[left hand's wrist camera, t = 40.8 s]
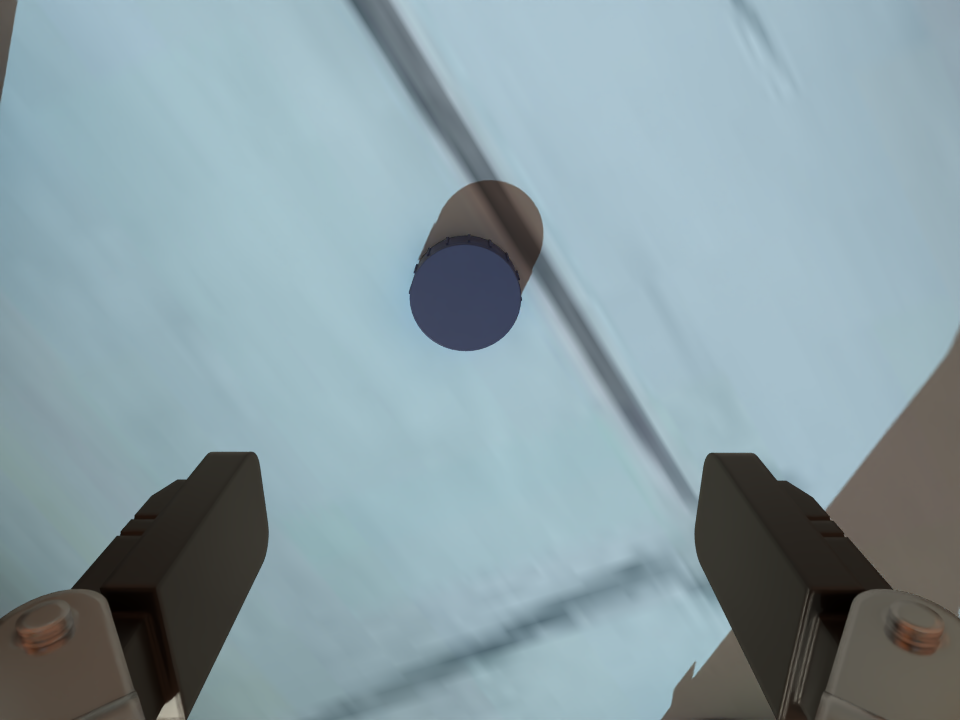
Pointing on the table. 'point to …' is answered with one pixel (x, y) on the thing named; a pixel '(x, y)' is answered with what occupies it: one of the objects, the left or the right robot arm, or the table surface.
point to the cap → (465, 293)
